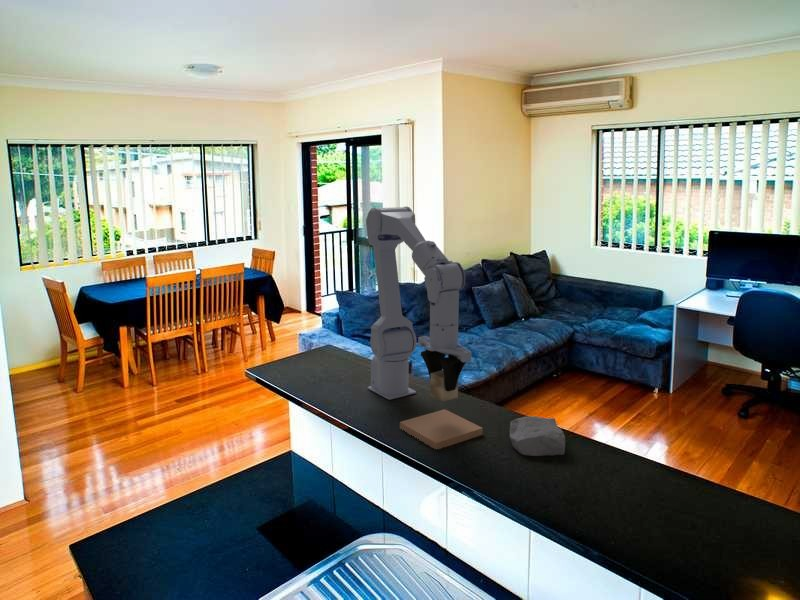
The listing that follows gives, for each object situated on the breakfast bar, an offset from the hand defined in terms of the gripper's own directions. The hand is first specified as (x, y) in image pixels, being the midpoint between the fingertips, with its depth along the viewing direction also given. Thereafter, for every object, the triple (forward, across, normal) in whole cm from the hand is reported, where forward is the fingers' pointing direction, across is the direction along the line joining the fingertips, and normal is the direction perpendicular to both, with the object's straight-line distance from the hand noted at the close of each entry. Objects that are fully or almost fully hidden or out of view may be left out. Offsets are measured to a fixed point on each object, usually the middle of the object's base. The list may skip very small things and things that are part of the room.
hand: (443, 386), depth 124 cm
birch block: (+2, 0, 0) cm, 2 cm away
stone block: (+9, +17, +10) cm, 21 cm away
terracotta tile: (+9, +2, -2) cm, 10 cm away
